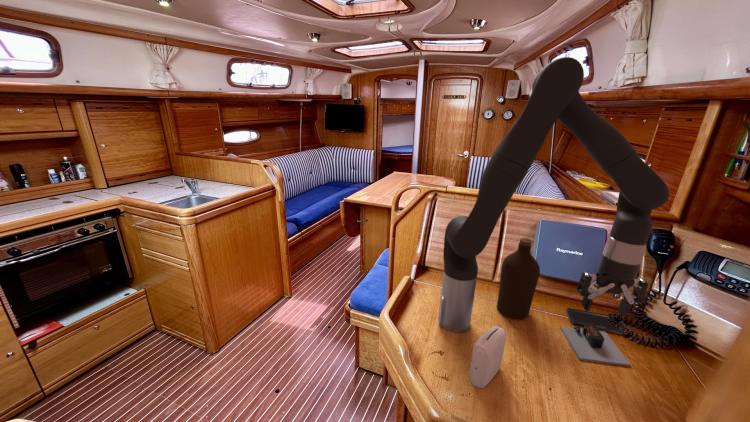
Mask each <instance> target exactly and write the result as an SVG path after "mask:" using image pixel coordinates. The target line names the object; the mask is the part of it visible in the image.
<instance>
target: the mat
mask: <svg viewBox="0 0 750 422" xmlns="http://www.w3.org/2000/svg"><path fill="white" fill-rule="evenodd" d="M560 330H561V332H562V334H563V336H564V337H565V339H566V340H567V342H568V344H569V346H570V347H571V349H572V351H573V353H574V354H575V356H576V357H577V358H578V359H577V360H578V361H585V362H586V361H587V362H591V363H592V362H593V363H602V364H609V365H614V366H615V365H617V366H625V367H631V363H630V362H629V360H628V359H627V357H625V355H624V354H623V353H622V351H621V350H620V349H619V347H618V346H617V345H616V344H615V342H614V341H613V340H612V339H611V337H610V336H609V335H608V332H605V331H601V330H599V331H600V333H601V334H602V336H603V337H604V342H603V346H602V348H594V347H591V346H590V344H589V342H588V341H587V339H586V337H585V336H584V334H583V332H582V330H583V328H580V333H578V332H576V329H574V328H573V327H570V326H569V327H568V326H560Z"/></svg>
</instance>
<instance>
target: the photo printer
mask: <svg viewBox="0 0 750 422" xmlns="http://www.w3.org/2000/svg"><path fill="white" fill-rule="evenodd" d="M506 341H507V334H506V331H505V330H504V329H503V328H501V327H500V326H499V325H495V326H492V327H490V328H488V329H487V330H485V332H484V333H483V334H482V335H481V336H480V337H479V338H478V339H477V340H476V343H475V344H474V345H473V348H472V350H473V351H472V356H471V365H470V369H469V370H470V371H469V375H468V376H469V377H468V379H469V380H470V382H471V384H472V385H473V386H475V387H476V388H478V389H481V388H482V389H484V388H485V387H486V386H487V385H488V384H489V383H490V382H491V381H492V380H493V378H494V377H495V376H496V374H497V373H498V372H499V370H500V368H501V366H502V361H503V357H504V352H505V351H504V350H505V346H506Z"/></svg>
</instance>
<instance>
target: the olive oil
mask: <svg viewBox="0 0 750 422" xmlns="http://www.w3.org/2000/svg"><path fill="white" fill-rule="evenodd" d="M532 243H533V241H532V240H531V239H530V238H527V237H526V238H525V237H522V238H520V239H519V242H518V245H517V247H518V248H517V250H515V251H514V252H512V253H510V254H508V255H507V256H506V257H505V258H504V259H503V261H502V264H501V268H500V278H499V286H498V287H499V288H498V295H497V296H498V297H497V302H496V309H497V311H498V313H500V314H501V315H503V317H505V318H507V319H511V320H514V321H515V320H516V321H523V320H526V319H527V318H528V317H529V314H530V311H531V306H532V303H533V299H534V296H535V292H536V288H537V285H538V282H539V279H540V274H541V270H540V269H541V268H540V264H539V263H538V261H537V259H536V258H535V257H534V256H533V255H532V253H531V249H532Z"/></svg>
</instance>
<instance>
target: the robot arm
mask: <svg viewBox="0 0 750 422" xmlns="http://www.w3.org/2000/svg"><path fill="white" fill-rule="evenodd" d="M584 76H585V73H584V67H583V65H582V63H581V62H580V61H579V60H578V59H576V58H574V57H569V56H566V57H559V58H556V59H554V60H552V61H550V62H549V63H547V64H546V65H545V66H543V68H542V69H541V70H540V71H539V72H538V73H537V75H536V76H535V78H534V80H533V82H532V84H531V94H530V96H529V97H528V100H527V102H526V104H525V106H524V108H523V110H522V112H521V114H519V117H518V118H517V119H516V121H515V122H514V123H513V125H512V126H511V127H510V129H509V130H508V132H507V133H506V134H505V135H504V137H503V138H502V140H501V141H500V142H499V144H498V145H497V147H496V149H495V150H494V152H493V153H492V155H491V157H490V159H489V160H488V163H487V164H486V166H485V168H484V170H483V173H482V176H481V179H480V184H479V188H478V191H477V193H478V194H477V197H476V200H475V203H474V205H473V207H472V210H471V211H470V212H469V214H468V216H466V215H459V216H456V217H453V218H452V219H451V220H450V221H449V222H448V223H447V226H446V228H445V232H444V237H443V239H444V240H443V253H442V254H443V256H442V257H443V276H442V286H441V289H440V295H439V296H440V298H439V306H438V307H439V308H438V326H439V327H440V326H441V328H444V329H445V330H447V329H448V331H450V332H453V331H454V332H453V333H463V331H464V332H466V331H468V330H469V328H470V327H471V322H472V313H473V308H474V301H475V295H476V294H475V292H476V286H477V285H476V284H477V279H478V271H479V266H478V261H477V256H478V255H480V254H481V253H482V252H483V251H484V249H485V248H486V246H487V245H488V243H489V241H490V238H491V237H492V234H493V231H494V230H495V228H496V225H497V224H498V221H499V220H500V217H501V216H502V214H503V212H504V211H505V209H506V208H507V206H508V204H509V202H510V201H511V199H512V197H513V196H514V194H515V192H516V191H517V189H518V188H519V186H520V185H521V184H522V183H523V181H524V178H525V177H526V175H527V174H528V172H529V171H530V168H531V167H532V165H533V163H534V162H535V160H536V158H537V156H538V155H539V152H540V150H541V149H542V148H543V146H544V142H545V141H546V139H547V137H548V135H549V132H550V131H551V129H552V128H553V126H554V124H555V123H556V122H557V120H559V121H560V123H562V124H563V125H564V126H565V128H567V129H568V131H569V132H570V133H571V134H572V135H573V136H574V137H575V138H576V139H577V141H578V142H579V143H580V145H581V146H582V147H583V148H584V149H585V151H586V152H587V154H588V155H590V157H591V158H592V159H593V161H594V162H595V163H596V164H597V165H598V166H599V168H600V169H601V170H602V172H604V173H605V174H606V175H607V176H608V177H609V178H610V179H612V180H613V182H614V183H615V185H616V186H617V187H618V189H619V193H618V198H617V204H616V212H615V218H614V221H613V223H612V226H611V230H610V232H609V235H608V238H607V240H606V242H605V245H604V248H603V251H602V255H601V257H600V261H599V263H598V270H597V272H596V273H595V274H594V273H588V271H587V270H586V271H583V272H582V273H581V276H580V279H579V282H578V284H577V286H576V287H577V288H576V291H577V293H579V294H580V296H581V297H582V300H581V304H580V305H581V306H582V307H583V309H584V311H588V312H591V311H590V310H591V308H592V304H593V301H594V298H596V297H597V296H601V295H603V294H615V295H620V294H621V296H622V297H623V298H621V301H620V303H619V306H618V311H617V312H618V313H619V314H620V315H622V316H627V314H629V313H630V311H631V309H632V305H634V304H635V303H639V304H643V302H644V300H645V297H646V293H647V291H648V290H647V289H648V287H649V286H648V285H649V282H647V281H646V280H645V279H644V278H643V277H641V276H637V275H638V274H639V270H640V267H641V265H642V261H643V259H644V257H645V253H646V248H647V244H648V242H649V241H648V240H649V239H650V235H651V233H652V230H653V221H652V218H651V217H652V216H651V215H652V211H653V210H656V209H658V208H661V207H663V206H664V205H666V203H667V202H668V200H669V198H670V188H669V187H668V185H667V183H665V181H664V180H663V179H662V178H661V177H660V176H659V175H658V174H657V172H656V171H654V169H653V168H651V167H650V166H649V165H648V164H647V163H646V162H645V161H644V160H643V158H642V157H641V156H640V155H639V153H638V151H636V149H635V147H633V146H632V144H631V143H630V141H628V139H627V138H626V137H625V136H624V134H622V133H621V132H620V131H619V130H618V129H617V128H616V127H615V126H614V125H612V124H611V123H610V122H608V121H607V120H606V119H604V118H603V117H602V116H600V115H599V114H598V113H597V112H596V111H595V110H594V109H593V108H592V107H590V105H589V104H588V103H587V102H586V101H585V100H584V98H583V97H582V95H581V93H580V90H581V88H582V86H583V82H584V80H585V79H584V78H585V77H584ZM593 281H594V282H593ZM598 287H599V288H598ZM631 287H633V289H632V292H630V290H629V289H630V288H631Z"/></svg>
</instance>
